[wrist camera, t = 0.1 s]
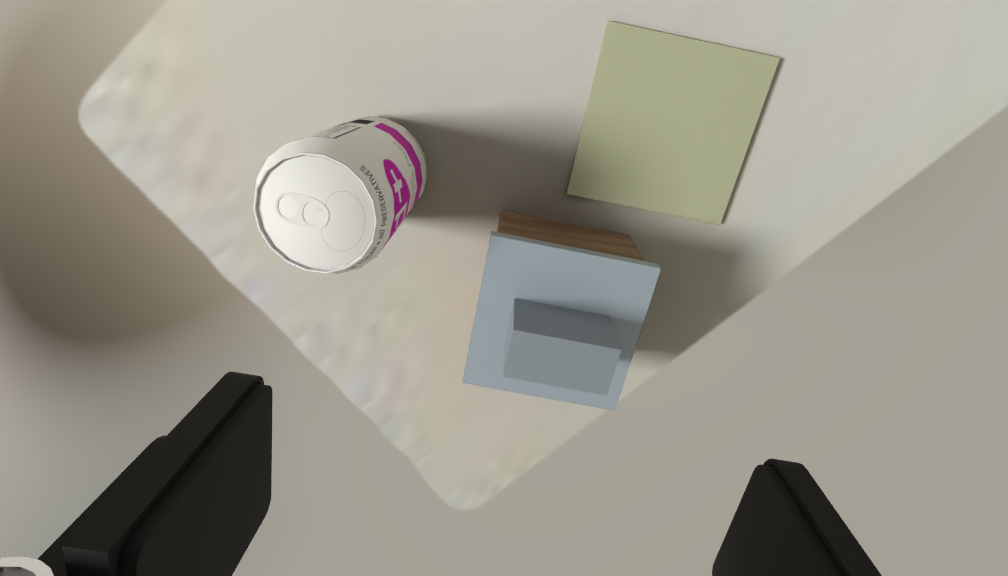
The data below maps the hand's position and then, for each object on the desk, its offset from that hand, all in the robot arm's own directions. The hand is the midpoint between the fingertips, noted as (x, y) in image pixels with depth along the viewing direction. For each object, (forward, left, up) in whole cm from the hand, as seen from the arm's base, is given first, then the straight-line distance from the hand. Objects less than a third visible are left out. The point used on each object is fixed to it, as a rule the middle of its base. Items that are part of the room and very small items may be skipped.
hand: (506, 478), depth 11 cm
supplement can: (+3, -11, -37) cm, 39 cm away
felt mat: (-5, +11, -37) cm, 38 cm away
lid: (+10, +5, -30) cm, 32 cm away
